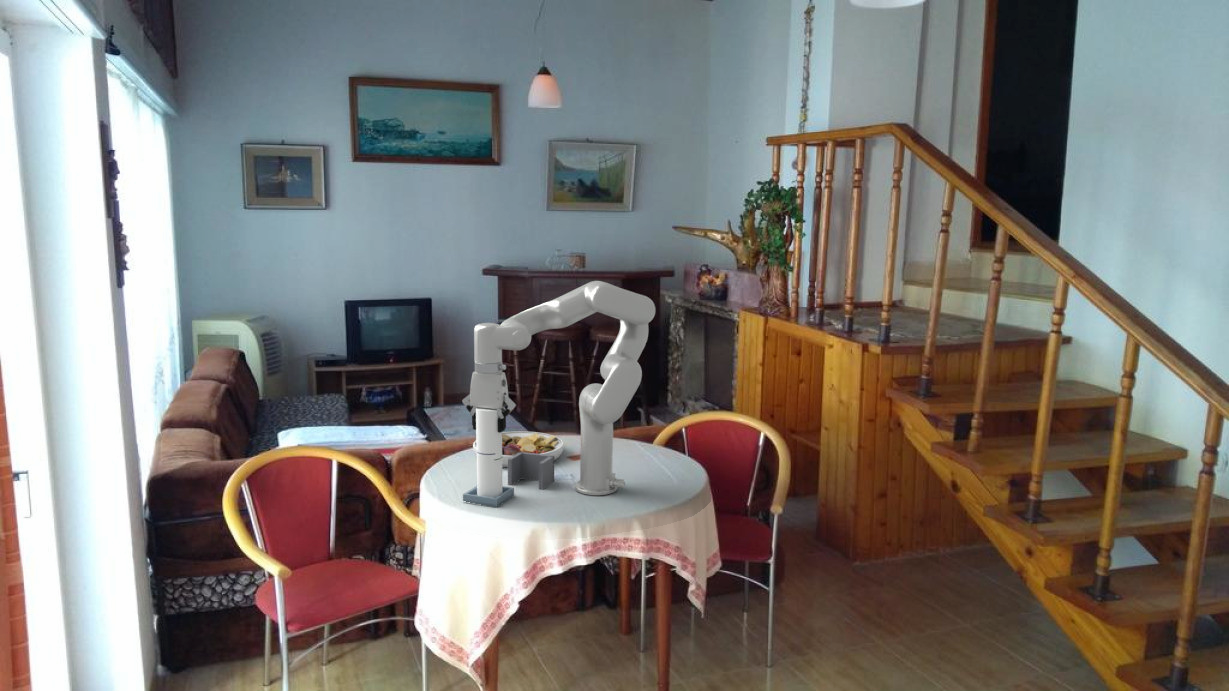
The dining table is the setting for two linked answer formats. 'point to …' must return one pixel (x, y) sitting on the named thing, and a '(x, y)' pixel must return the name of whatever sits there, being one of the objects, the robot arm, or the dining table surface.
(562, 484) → the dining table surface
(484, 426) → the cylindrical container
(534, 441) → the bowl
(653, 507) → the dining table surface
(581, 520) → the dining table surface
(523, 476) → the bay
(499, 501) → the tray
